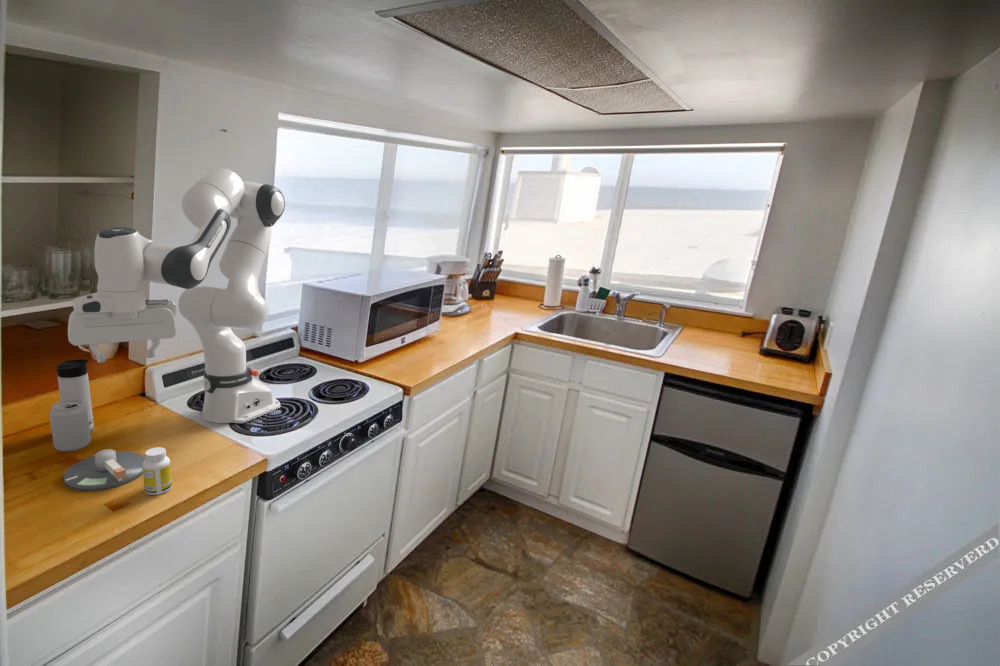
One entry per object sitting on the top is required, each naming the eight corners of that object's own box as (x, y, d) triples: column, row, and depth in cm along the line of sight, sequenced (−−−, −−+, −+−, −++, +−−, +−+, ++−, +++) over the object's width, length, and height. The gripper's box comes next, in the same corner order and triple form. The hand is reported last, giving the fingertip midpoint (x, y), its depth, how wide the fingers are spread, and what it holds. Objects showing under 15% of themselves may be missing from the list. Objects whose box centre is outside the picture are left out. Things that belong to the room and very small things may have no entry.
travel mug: (99, 430, 144) (92, 361, 139) (71, 438, 139) (62, 367, 134) (89, 423, 148) (81, 356, 142) (60, 431, 142) (51, 361, 137)
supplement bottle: (171, 480, 126) (169, 443, 123) (172, 492, 121) (169, 454, 119) (144, 485, 123) (141, 448, 120) (144, 497, 118) (140, 459, 116)
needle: (93, 466, 125) (91, 453, 124) (113, 461, 129) (111, 447, 128) (112, 484, 119) (110, 470, 118) (132, 478, 123) (130, 464, 122)
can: (70, 455, 131) (65, 411, 128) (46, 449, 133) (40, 406, 130) (98, 442, 139) (94, 400, 135) (75, 437, 140) (70, 395, 137)
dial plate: (131, 449, 137) (130, 444, 137) (159, 472, 128) (158, 467, 128) (53, 472, 124) (53, 467, 124) (79, 499, 116) (78, 494, 115)
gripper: (172, 296, 128) (175, 350, 131) (64, 299, 114) (69, 360, 117) (178, 301, 123) (181, 357, 127) (66, 306, 110) (72, 368, 113)
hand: (126, 359), depth 122 cm, fingers open, 8 cm apart
